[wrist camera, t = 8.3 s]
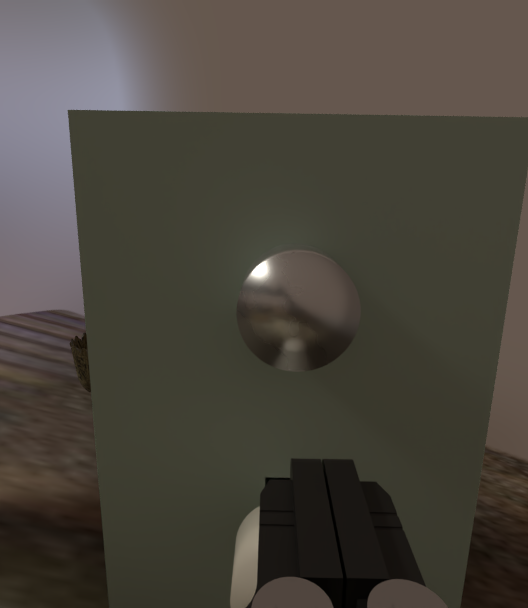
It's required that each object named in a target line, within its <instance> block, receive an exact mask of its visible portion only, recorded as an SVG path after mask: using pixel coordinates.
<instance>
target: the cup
mask: <svg viewBox="0 0 528 608" xmlns="http://www.w3.org/2000/svg"><path fill="white" fill-rule="evenodd" d="M70 346H71V347H72V348H71V350H72V354H73V359H74V363H75V367H76V371H77V375H78V378H79V381H80V383H81V384H82V386H83V387H84V388H85V389H86V390H87V391H89V392H91V383H90V371H89V359H88V347H87V335H86V333H83V336H82V341H81V339H79V338H78V337H77V336H75V341H74V340H73V339H71V342H70Z"/></svg>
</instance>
